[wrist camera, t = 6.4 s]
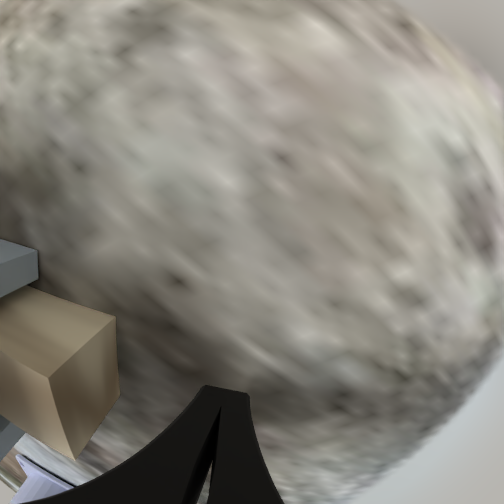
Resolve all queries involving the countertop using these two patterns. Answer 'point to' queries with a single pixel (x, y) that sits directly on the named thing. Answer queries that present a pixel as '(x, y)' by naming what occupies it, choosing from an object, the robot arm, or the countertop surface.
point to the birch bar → (56, 368)
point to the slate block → (4, 282)
